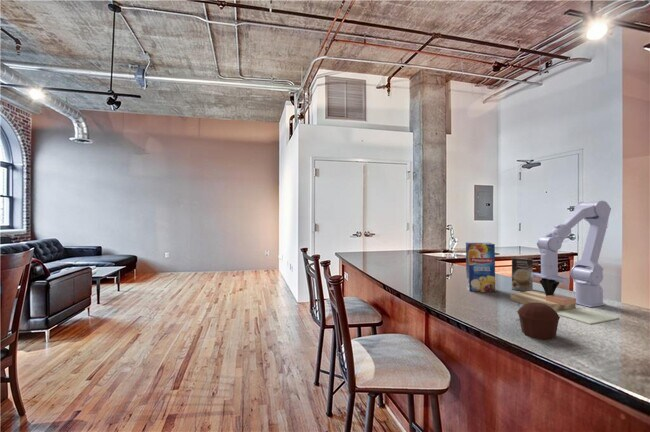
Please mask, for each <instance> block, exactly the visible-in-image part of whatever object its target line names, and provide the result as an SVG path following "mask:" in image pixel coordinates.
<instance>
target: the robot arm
mask: <svg viewBox="0 0 650 432" xmlns="http://www.w3.org/2000/svg"><path fill="white" fill-rule="evenodd" d="M573 209H574V210H573V211H572V213H570V215H569V216H568V217H567V218H566V219H565V221H564V222H563V223H558V224H555V225H554V227H553V228H552V229H551V230H550V231H549V232H548V233H547V234H546V235H545V236H541V237H540V238H539V239H538V241H537V242H536V246H537V248H538V249H539V253H540V273H539V272H534V271H533V273H531V277H533V278H536V279H540V280H539V283H540V284H541V286H542V288H543V290H544V292H545V294H546V296H548V295H555V292H556V290H557V287H558V286H559V285H560V284H564V285H565V284H566V285H568V284H570V278H568V277H564V276H559V270H558V269H559V267H558V265H559V262H558V261H559V259H558V257H559V256H558V251H559V250H561V248H562V246H563V245H562V244H563V242H564V241H565V240H566V239H567V238H568V237H569V236H570V235H571V234H572V229H573V228H574V227H575V226H576V225H577V224H579V223H580V222H581V221H582V220H584V221H586V222H588V224H589V227H588V231H587V236H586V239H585V243H584V247H583V251H582V253H581V257H580V259H578V260H577V261H575V262H574V264H573V266H572V268H571V269H570V271H569V272H570V273H569V274H570V277H571V278H572V280H573V282H575V288H574V289H575V293H574V294H575V298H576V303H575V305H580V306H583V307H588V308H594V307H595V308H596V307H600V306H606V303H604V290H603V287H602V285H600V284H602V282H603V280H604V275H603V274H604V273H603V271H604V267H603V266H602V265H601V264H599V260H600V259H599V258H600V255H601V251H602V248H603V243H604V239H605V236H606V233H607V228H608V225H609V217H610V213H611V210H612V208H611V206H610V204H609V203H608V202H607V201H605V200H598V201H597V200H596V201H595V200H594V201H580V202H578V203H577V205H574V208H573Z"/></svg>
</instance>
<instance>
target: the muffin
mask: <svg viewBox="0 0 650 432" xmlns="http://www.w3.org/2000/svg"><path fill="white" fill-rule="evenodd" d="M516 312H517V314H518V317H519V318H518V319H519V322H520V323H519V324H520V328H521V329H520V330H521V332H522V334H524V335H525V336H526V337H529V338H532V339H536V340H542V341H553V340H554V339H555V338H556V336H557V331H558V327H559V321H560V318H561V316H560V315H558V314H557V313H556V311H555V310H554V309H553V308H551V307H550V306H548V305H546V304H543V303H537V302H532V303H527V304H522V306H520V307H519V309H518V310H517V311H516Z"/></svg>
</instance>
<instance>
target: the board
mask: <svg viewBox="0 0 650 432" xmlns="http://www.w3.org/2000/svg"><path fill="white" fill-rule="evenodd" d="M510 301H512V302H515V303H520V304H521V305H525V304H527V303H532V302H537V303H543V304H546V305H548V306H550V307H551V308H553V309H554V310H555V311H562V310H568V309H574V308H577V307H576V303H575V304H568V305H561V304H557V303H553V302H549V301H546V294H545V293H544V292H540V291H536V290H533V291H520V292H512V293H510Z"/></svg>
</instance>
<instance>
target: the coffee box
mask: <svg viewBox="0 0 650 432" xmlns="http://www.w3.org/2000/svg"><path fill="white" fill-rule="evenodd" d="M533 260H534V258H529V257H516V256H511V290H514V291H520V292H526V291H534V290H533V288H534V285H533V283H534V277H531V273H534V271H533V267H534V266H533V264H534V263H533V262H534V261H533Z"/></svg>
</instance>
